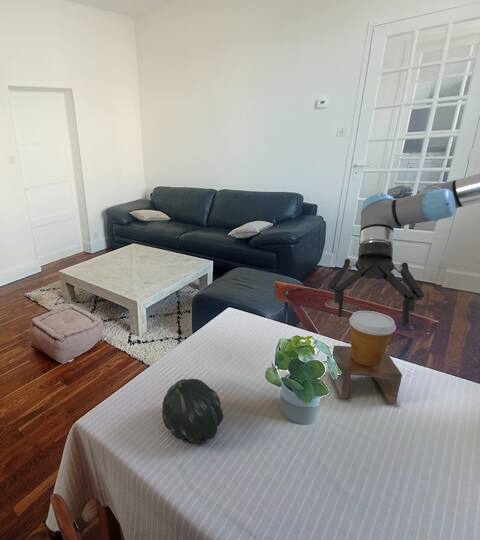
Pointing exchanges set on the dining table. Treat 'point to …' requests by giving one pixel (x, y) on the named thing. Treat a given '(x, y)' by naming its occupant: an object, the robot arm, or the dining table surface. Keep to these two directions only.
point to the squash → (192, 410)
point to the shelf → (367, 373)
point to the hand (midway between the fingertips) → (371, 320)
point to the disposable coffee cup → (370, 336)
